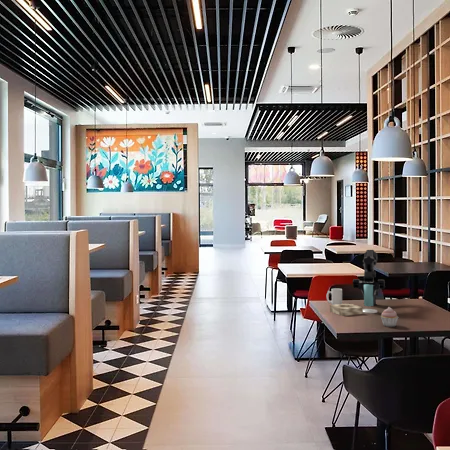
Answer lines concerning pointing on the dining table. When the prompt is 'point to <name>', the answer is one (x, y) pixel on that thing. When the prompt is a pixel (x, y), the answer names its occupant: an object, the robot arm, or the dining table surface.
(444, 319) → the dining table surface
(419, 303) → the dining table surface
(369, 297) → the dowel
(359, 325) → the dining table surface
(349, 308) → the pocket collar
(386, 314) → the cupcake
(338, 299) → the mug
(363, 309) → the pad
